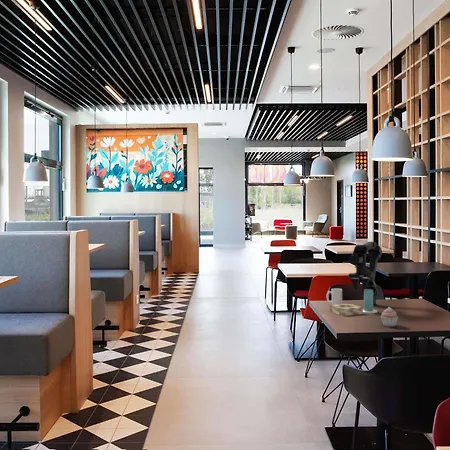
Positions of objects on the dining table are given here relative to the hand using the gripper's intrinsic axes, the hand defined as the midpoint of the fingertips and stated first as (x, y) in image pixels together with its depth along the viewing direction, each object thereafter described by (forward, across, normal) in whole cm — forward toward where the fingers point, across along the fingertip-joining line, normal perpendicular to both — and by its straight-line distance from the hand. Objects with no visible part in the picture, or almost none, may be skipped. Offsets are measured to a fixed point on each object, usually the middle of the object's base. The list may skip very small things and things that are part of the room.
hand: (360, 289), depth 306 cm
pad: (+13, -4, -9) cm, 16 cm away
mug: (+13, -6, +14) cm, 20 cm away
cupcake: (+16, -29, -36) cm, 49 cm away
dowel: (+12, -4, -8) cm, 15 cm away
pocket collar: (+14, -15, 0) cm, 21 cm away
